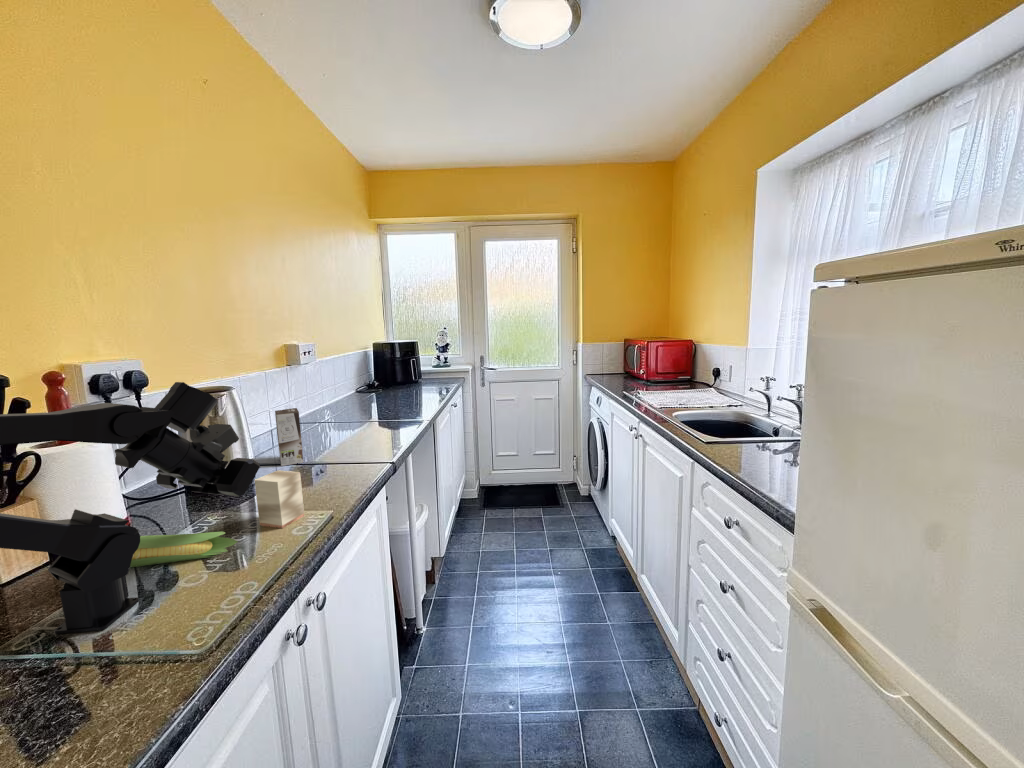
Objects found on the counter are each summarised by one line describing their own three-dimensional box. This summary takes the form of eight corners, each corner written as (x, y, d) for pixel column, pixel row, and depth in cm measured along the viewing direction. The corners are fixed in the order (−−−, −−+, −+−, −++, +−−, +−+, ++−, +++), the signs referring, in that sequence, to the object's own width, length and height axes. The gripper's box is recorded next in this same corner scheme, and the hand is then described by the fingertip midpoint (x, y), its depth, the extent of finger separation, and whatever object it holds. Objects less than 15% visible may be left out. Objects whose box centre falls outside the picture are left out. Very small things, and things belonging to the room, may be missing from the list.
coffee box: (304, 462, 130) (299, 411, 128) (280, 466, 127) (275, 414, 125) (302, 455, 138) (297, 407, 136) (279, 459, 135) (274, 409, 133)
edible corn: (118, 536, 76) (99, 541, 72) (239, 526, 80) (228, 531, 76) (116, 566, 76) (96, 573, 71) (238, 555, 79) (227, 561, 75)
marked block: (282, 528, 87) (277, 482, 85) (259, 525, 88) (254, 479, 87) (304, 515, 92) (300, 472, 91) (282, 513, 94) (277, 470, 93)
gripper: (243, 414, 71) (300, 457, 83) (164, 411, 76) (228, 452, 88) (204, 476, 64) (271, 512, 76) (120, 467, 70) (196, 503, 82)
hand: (241, 492), depth 81 cm, fingers closed
